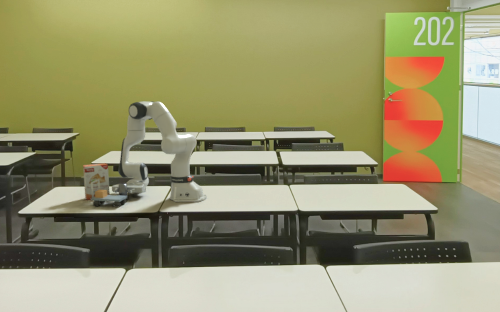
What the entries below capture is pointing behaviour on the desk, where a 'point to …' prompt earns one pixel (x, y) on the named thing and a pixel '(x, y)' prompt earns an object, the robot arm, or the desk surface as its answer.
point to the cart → (107, 197)
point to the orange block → (100, 193)
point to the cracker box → (95, 178)
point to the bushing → (123, 189)
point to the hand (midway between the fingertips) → (122, 191)
